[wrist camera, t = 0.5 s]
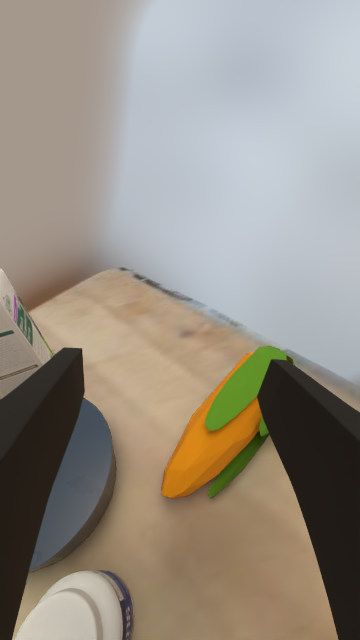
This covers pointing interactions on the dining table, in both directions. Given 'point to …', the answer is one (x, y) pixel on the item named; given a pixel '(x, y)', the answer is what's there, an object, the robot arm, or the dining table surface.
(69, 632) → the pill bottle
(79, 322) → the dining table surface
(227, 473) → the corn
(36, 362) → the syrup box
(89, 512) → the lid
